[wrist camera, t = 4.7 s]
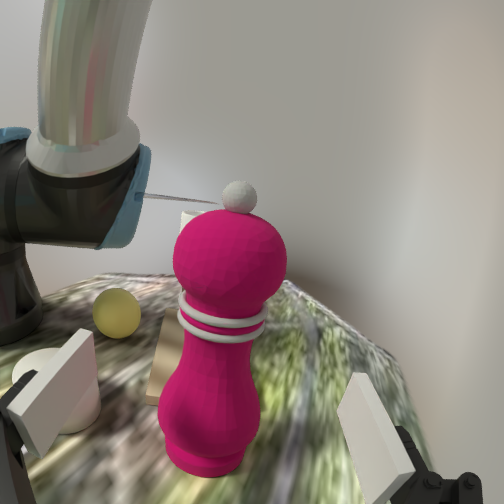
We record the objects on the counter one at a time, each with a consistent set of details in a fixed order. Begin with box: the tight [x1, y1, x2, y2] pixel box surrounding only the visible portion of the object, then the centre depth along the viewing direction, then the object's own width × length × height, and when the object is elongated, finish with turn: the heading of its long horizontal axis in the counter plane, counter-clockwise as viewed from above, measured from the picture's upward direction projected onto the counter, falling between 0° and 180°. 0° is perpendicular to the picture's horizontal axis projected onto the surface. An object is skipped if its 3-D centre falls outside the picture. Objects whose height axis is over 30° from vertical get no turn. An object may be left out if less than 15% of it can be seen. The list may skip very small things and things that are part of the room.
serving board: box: [146, 308, 184, 406], centre depth 33 cm, size 18×10×1 cm, turn 8°
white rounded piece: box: [12, 348, 101, 434], centre depth 19 cm, size 8×8×4 cm
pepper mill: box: [158, 181, 287, 477], centre depth 17 cm, size 7×7×20 cm
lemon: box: [92, 288, 141, 339], centre depth 32 cm, size 6×6×6 cm
